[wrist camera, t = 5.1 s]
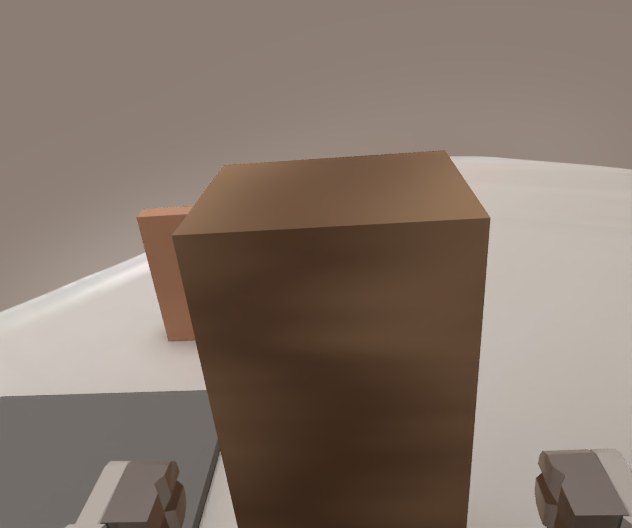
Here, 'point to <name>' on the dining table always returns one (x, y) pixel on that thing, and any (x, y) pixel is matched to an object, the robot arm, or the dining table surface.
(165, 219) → the tile
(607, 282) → the dining table surface
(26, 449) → the rest mat
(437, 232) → the tall wooden block
